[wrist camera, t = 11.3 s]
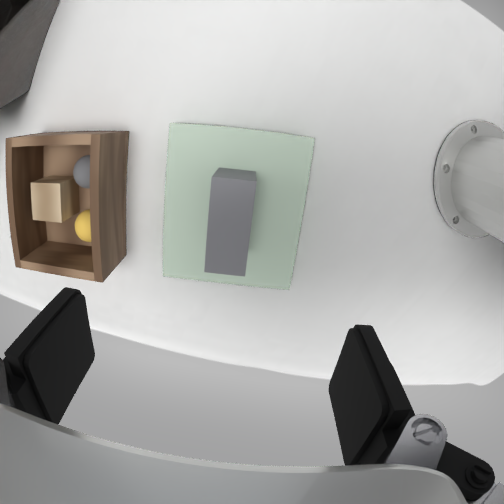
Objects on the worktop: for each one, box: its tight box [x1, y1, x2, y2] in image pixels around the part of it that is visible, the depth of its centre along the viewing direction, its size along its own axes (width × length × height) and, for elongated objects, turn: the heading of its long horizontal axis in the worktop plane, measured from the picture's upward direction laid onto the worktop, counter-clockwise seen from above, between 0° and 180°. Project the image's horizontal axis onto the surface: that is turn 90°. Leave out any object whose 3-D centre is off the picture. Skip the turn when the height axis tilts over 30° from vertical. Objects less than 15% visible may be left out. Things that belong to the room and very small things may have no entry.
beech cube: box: [31, 175, 80, 223], centre depth 25 cm, size 4×4×4 cm
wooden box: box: [6, 131, 129, 282], centre depth 25 cm, size 10×12×6 cm
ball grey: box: [73, 155, 90, 189], centre depth 25 cm, size 3×3×3 cm
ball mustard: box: [75, 209, 91, 242], centre depth 27 cm, size 3×3×3 cm
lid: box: [163, 123, 315, 290], centre depth 26 cm, size 12×14×7 cm
